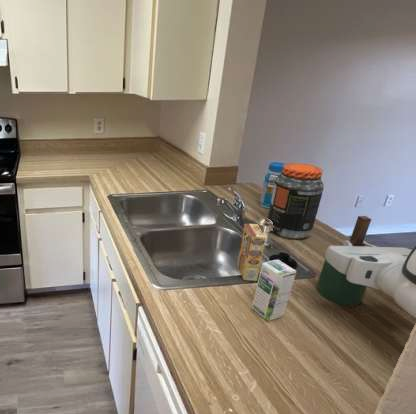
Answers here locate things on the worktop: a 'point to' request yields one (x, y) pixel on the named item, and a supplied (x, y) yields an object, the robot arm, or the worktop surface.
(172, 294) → the worktop surface
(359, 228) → the brush
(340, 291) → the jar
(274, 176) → the beverage bottle
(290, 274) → the syrup box
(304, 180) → the supplement tub
